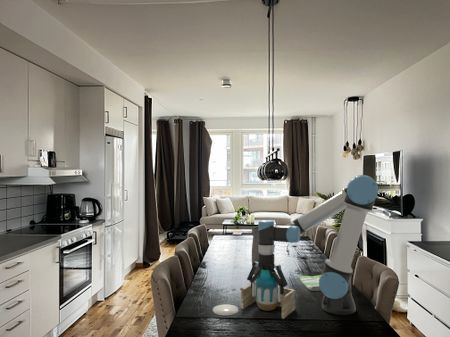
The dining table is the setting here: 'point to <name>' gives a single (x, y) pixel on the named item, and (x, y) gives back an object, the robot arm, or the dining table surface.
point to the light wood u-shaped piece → (286, 304)
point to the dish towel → (311, 282)
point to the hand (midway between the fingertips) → (267, 298)
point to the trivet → (225, 310)
